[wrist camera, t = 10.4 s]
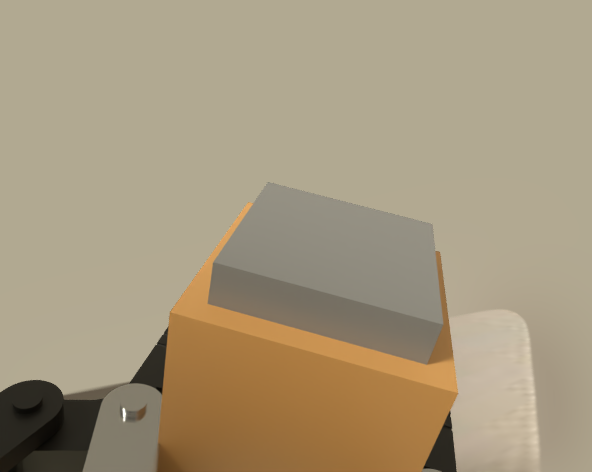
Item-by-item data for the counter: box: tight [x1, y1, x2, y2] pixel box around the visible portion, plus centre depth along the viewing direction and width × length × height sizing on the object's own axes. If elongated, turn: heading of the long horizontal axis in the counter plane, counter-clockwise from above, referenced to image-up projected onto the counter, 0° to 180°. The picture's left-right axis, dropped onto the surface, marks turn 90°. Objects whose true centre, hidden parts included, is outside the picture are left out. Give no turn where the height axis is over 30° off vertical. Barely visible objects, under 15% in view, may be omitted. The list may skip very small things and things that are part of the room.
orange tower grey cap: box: [157, 182, 458, 472], centre depth 12 cm, size 4×4×12 cm
